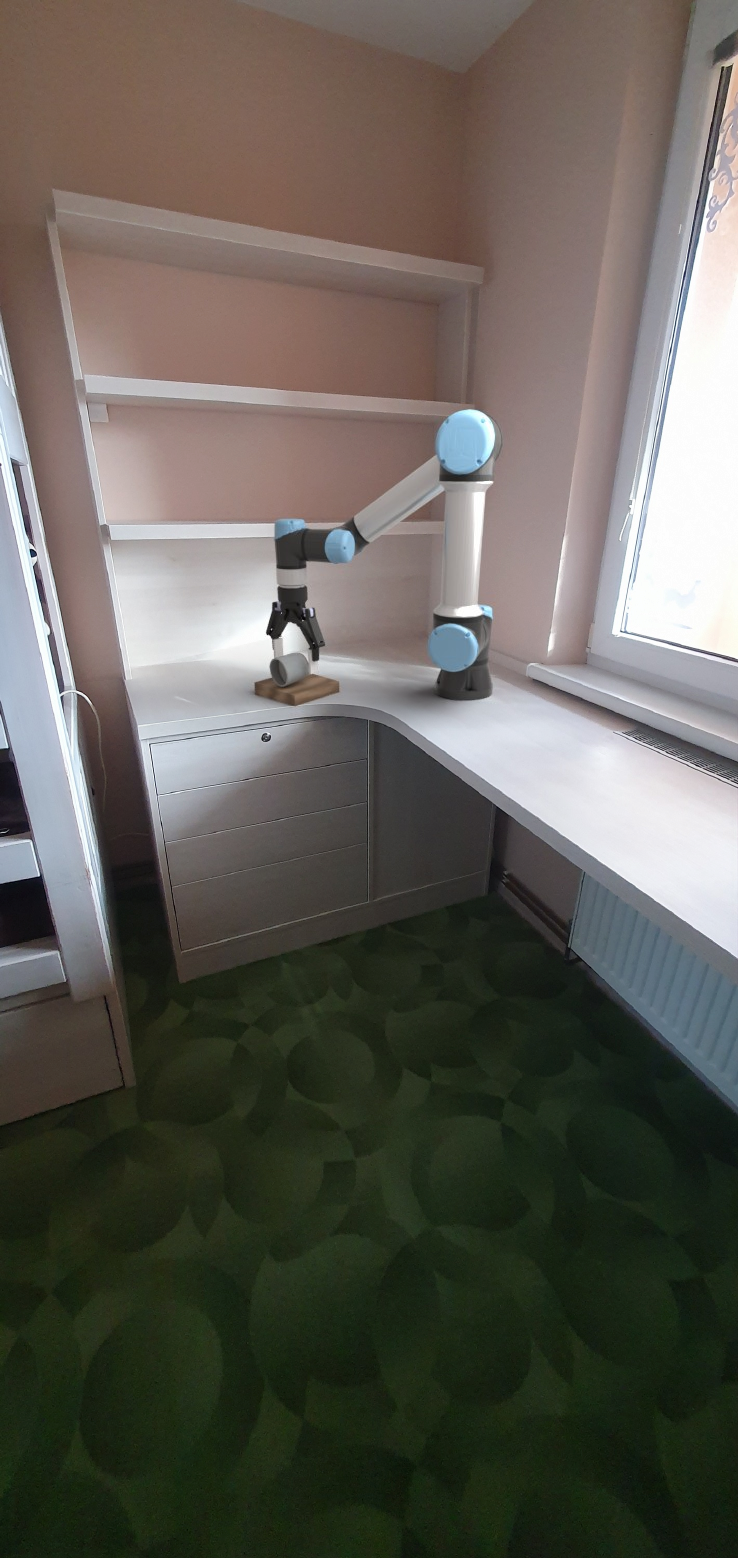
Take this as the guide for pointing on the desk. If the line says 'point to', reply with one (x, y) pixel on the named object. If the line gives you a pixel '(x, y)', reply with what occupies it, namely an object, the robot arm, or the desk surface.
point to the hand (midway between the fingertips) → (295, 667)
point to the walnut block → (297, 689)
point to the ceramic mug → (289, 668)
